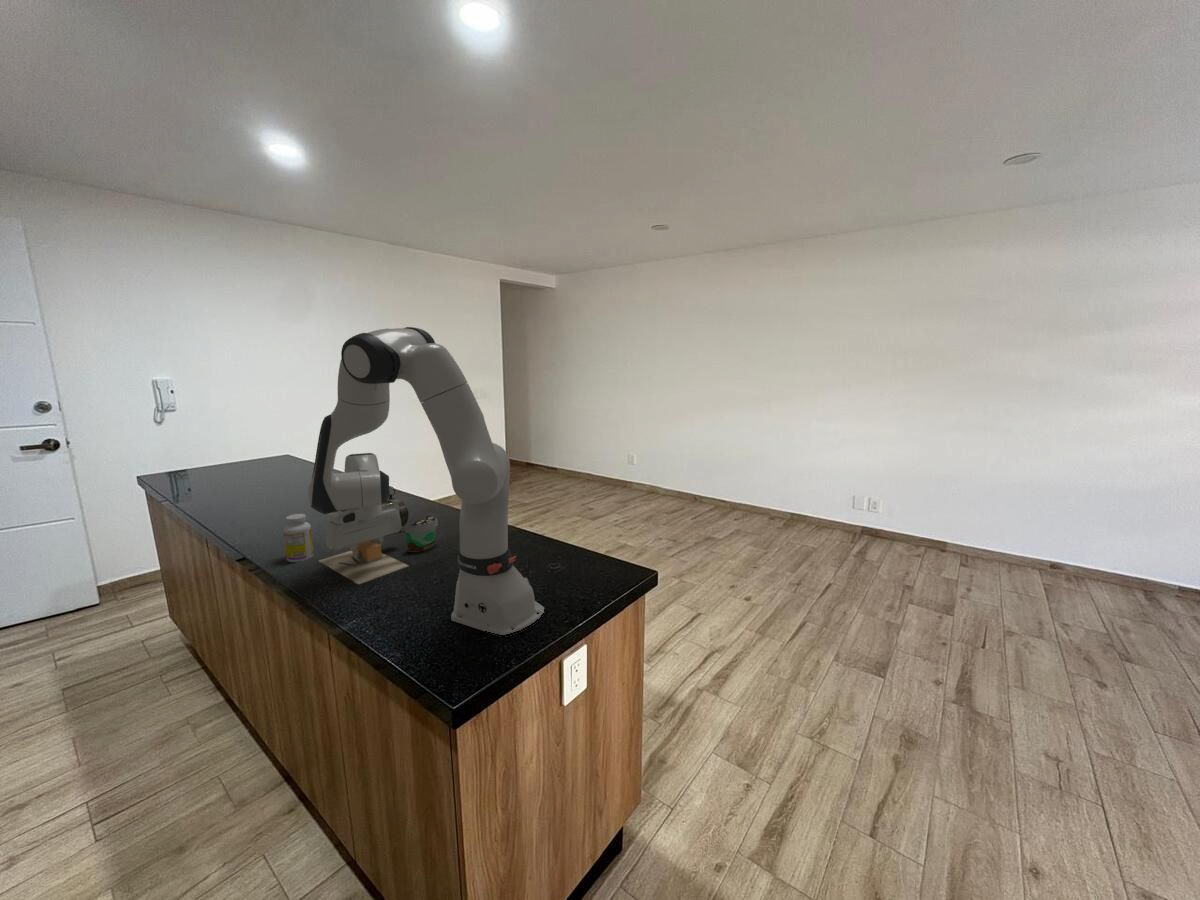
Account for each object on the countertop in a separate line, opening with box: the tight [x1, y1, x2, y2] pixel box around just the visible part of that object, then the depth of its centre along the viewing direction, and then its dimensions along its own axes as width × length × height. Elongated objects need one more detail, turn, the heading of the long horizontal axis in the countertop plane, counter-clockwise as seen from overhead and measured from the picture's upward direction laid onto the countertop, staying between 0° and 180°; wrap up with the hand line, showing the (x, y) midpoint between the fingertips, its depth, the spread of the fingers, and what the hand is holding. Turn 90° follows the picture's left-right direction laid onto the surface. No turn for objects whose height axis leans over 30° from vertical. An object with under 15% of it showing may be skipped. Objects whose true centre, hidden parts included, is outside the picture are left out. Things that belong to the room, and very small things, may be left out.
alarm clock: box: [383, 485, 409, 533], centre depth 152 cm, size 11×5×16 cm, turn 76°
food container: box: [404, 513, 439, 553], centre depth 139 cm, size 12×6×10 cm, turn 168°
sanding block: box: [353, 540, 382, 563], centre depth 130 cm, size 8×4×4 cm, turn 55°
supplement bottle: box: [282, 513, 314, 563], centre depth 130 cm, size 7×7×13 cm
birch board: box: [318, 550, 409, 585], centre depth 127 cm, size 22×14×2 cm, turn 55°
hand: (367, 554), depth 130 cm, fingers closed on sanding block, 4 cm apart
